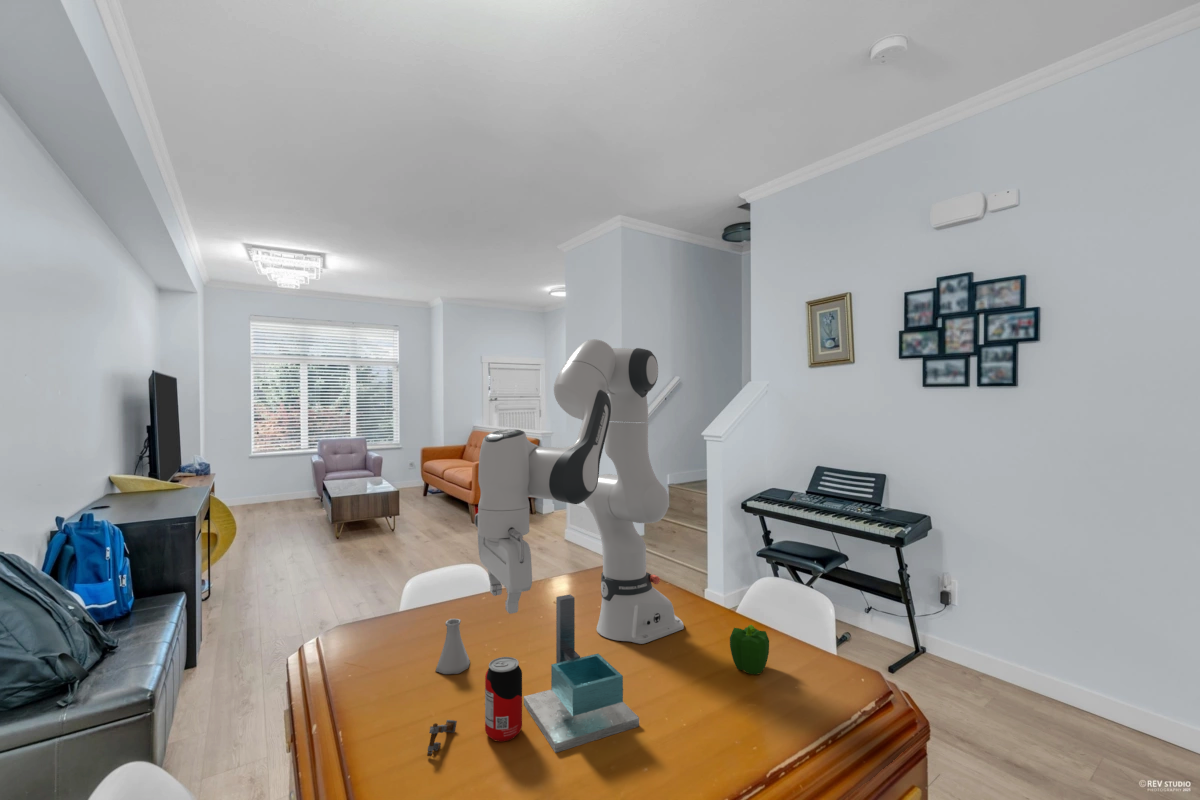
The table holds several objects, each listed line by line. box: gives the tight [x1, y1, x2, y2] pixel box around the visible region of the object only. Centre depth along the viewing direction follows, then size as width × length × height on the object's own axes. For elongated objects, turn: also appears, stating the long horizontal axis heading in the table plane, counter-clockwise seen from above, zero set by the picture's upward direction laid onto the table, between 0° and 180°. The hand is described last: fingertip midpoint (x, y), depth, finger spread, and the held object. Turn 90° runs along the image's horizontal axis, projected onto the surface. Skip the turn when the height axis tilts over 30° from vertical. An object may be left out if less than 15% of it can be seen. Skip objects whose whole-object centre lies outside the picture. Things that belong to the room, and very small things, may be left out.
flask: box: [435, 618, 471, 675], centre depth 116 cm, size 7×7×10 cm
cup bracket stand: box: [523, 593, 640, 754], centre depth 98 cm, size 16×16×20 cm
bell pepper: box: [729, 624, 770, 675], centre depth 115 cm, size 8×8×10 cm
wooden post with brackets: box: [426, 719, 458, 757], centre depth 89 cm, size 2×8×4 cm, turn 170°
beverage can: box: [484, 656, 523, 742], centre depth 92 cm, size 6×6×12 cm
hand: (503, 602), depth 92 cm, fingers open, 8 cm apart
